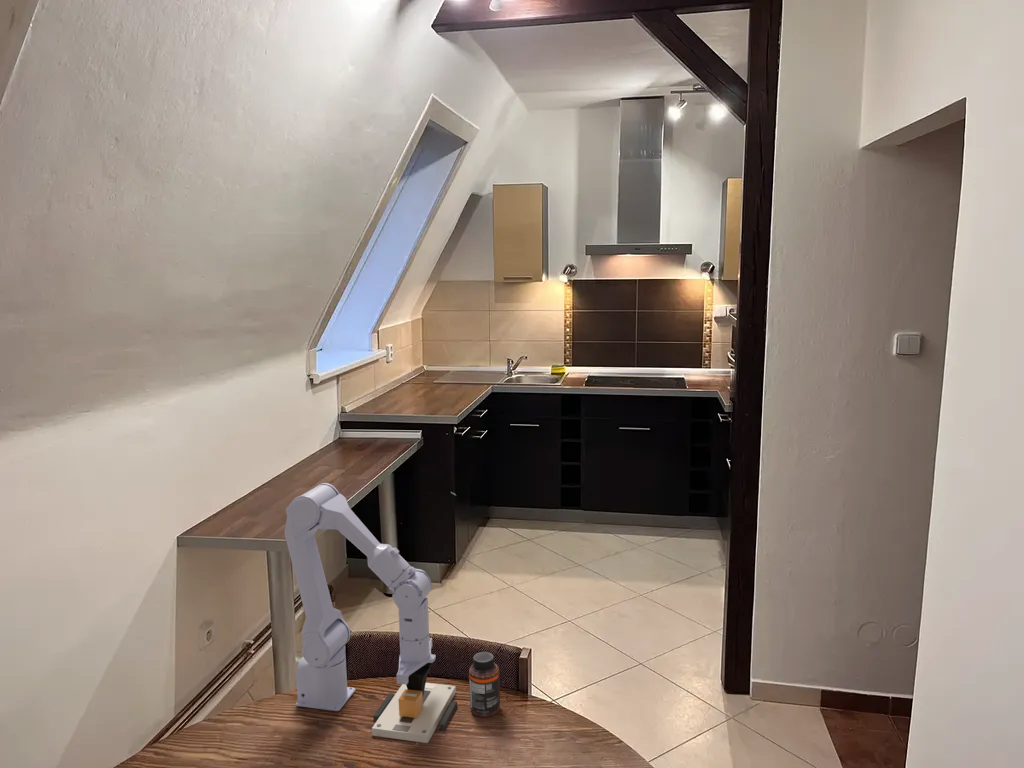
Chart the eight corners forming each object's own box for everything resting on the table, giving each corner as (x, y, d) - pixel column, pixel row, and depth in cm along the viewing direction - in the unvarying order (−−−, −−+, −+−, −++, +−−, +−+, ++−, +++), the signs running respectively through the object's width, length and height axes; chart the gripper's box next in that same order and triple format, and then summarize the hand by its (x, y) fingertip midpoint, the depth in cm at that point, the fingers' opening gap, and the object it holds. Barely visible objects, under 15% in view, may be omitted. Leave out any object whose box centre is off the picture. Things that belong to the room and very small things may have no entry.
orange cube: (399, 715, 145) (398, 698, 144) (405, 705, 148) (405, 688, 148) (416, 718, 144) (415, 700, 143) (422, 707, 147) (422, 690, 147)
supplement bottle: (483, 697, 154) (482, 645, 152) (506, 708, 150) (505, 654, 148) (463, 711, 149) (462, 657, 147) (486, 722, 145) (485, 667, 144)
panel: (372, 735, 142) (371, 727, 142) (405, 686, 158) (405, 679, 158) (427, 743, 139) (427, 735, 139) (455, 692, 156) (455, 685, 155)
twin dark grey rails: (373, 720, 146) (373, 715, 146) (389, 697, 154) (389, 693, 154) (444, 729, 143) (444, 724, 143) (457, 706, 151) (456, 701, 151)
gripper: (420, 654, 139) (423, 722, 141) (445, 619, 153) (447, 681, 155) (385, 650, 141) (388, 718, 143) (412, 616, 155) (415, 677, 157)
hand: (416, 698), depth 149 cm, fingers closed
